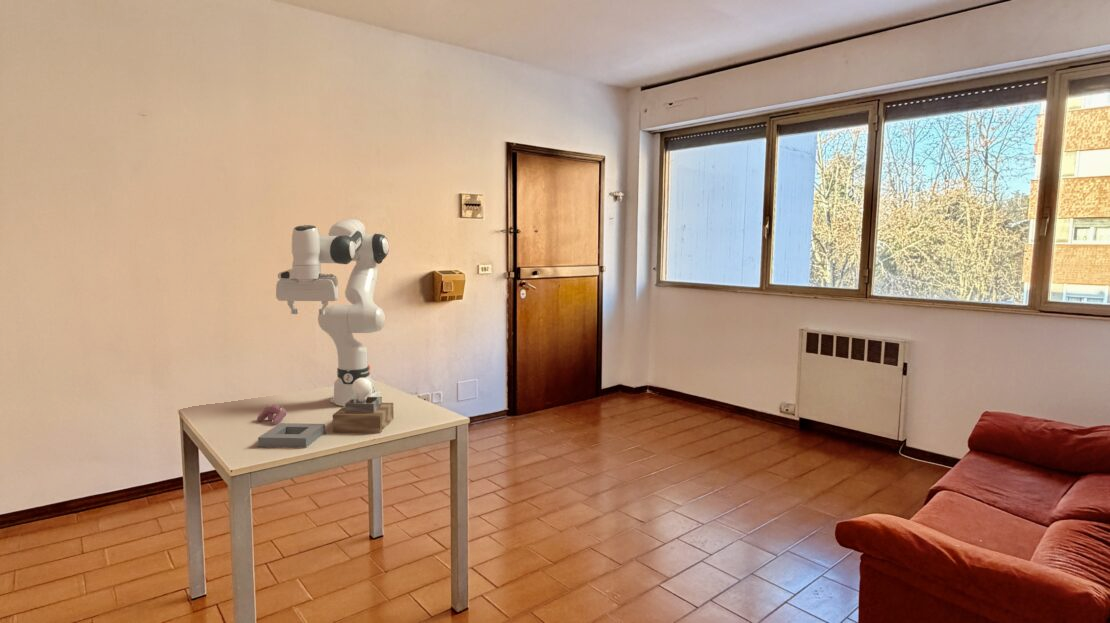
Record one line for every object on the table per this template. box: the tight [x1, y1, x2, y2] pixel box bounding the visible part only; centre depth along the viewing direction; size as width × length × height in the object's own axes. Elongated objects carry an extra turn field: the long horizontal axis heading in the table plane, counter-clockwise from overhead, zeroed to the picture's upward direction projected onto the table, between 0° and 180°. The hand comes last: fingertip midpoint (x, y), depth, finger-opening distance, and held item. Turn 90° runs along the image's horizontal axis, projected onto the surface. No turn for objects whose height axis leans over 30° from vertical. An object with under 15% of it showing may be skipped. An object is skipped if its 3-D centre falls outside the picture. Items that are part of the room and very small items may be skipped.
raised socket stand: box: [332, 396, 395, 434], centre depth 209 cm, size 16×16×9 cm
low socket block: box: [257, 422, 326, 448], centre depth 194 cm, size 15×15×3 cm
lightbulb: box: [352, 378, 371, 403], centre depth 208 cm, size 6×6×11 cm
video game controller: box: [256, 404, 287, 426], centre depth 213 cm, size 10×5×7 cm, turn 62°
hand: (308, 314), depth 204 cm, fingers open, 8 cm apart
